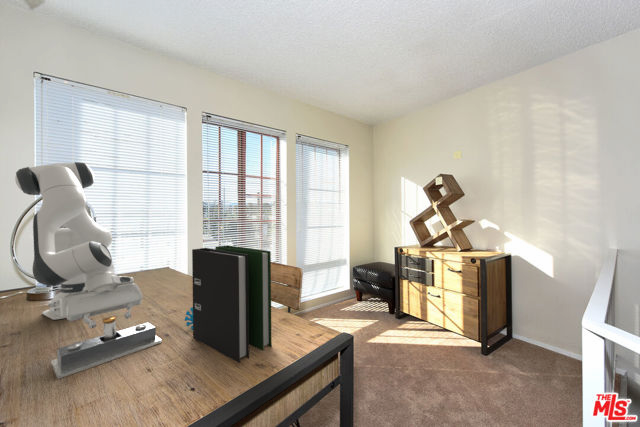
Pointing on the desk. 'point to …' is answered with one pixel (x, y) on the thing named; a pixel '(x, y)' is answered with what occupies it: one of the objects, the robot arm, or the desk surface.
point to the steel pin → (109, 328)
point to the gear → (189, 318)
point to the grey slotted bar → (103, 349)
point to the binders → (232, 299)
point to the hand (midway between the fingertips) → (111, 322)
